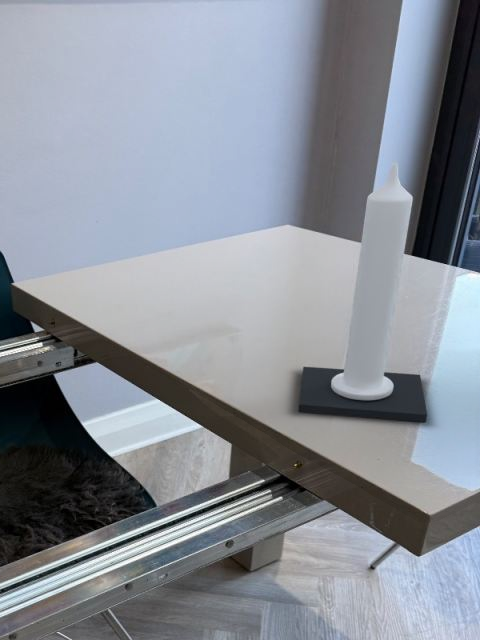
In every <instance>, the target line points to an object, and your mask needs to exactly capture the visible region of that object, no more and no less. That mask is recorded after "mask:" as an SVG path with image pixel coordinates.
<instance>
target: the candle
mask: <svg viewBox="0 0 480 640" xmlns="http://www.w3.org/2000/svg"><path fill="white" fill-rule="evenodd" d="M413 201H414V197H413V195H412V194H411V193H410V192H409V191H408V190H406V189H405V187H404V186H403V185H402V184H401V181H400V175H399V163H398V162H397V161H393V162H392V164H391V167H390V169H389V171H388V175H387V178H386V179H385V181H384V182H383V184H382V185H381V186H379V187H378V188H377V189H375V190H374V191H372V192H370V194H368V196H367V199H366V205H365V213H364V220H363V227H362V233H361V242H360V250H359V257H358V264H357V265H358V266H357V272H356V279H355V286H354V295H353V302H352V307H351V316H350V324H349V331H348V338H347V347H346V353H345V361H344V367H343V369H344V373H340V374H338V375H336V376H335V377H334V378H333V379H332V381H331V388H332V390H333V391H334V392H335V393H337V394H339V395H341V396H343V397H346V398H350V399H355V400H378V399H382V398H385V397H387V396H389V395H390V394H391V393H392V391H393V387H394V386H393V383H392V381H391V380H390V379H388V378H387V377H385V376H384V372H386V371H385V369H386V363H387V358H388V352H389V346H390V339H391V334H392V328H393V323H394V316H395V309H396V303H397V298H398V292H399V286H400V281H401V273H402V267H403V261H404V255H405V250H406V243H407V237H408V232H409V231H408V230H409V225H410V218H411V212H412V206H413Z"/></svg>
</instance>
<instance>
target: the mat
mask: <svg viewBox="0 0 480 640" xmlns="http://www.w3.org/2000/svg"><path fill="white" fill-rule="evenodd" d="M340 373H344V368H331V367H316V366H303V367H302V376H301V383H300V384H301V385H300V392H299V401H298V409H297V411H298V413H308V414H309V413H310V414H320V415H332V416H333V415H334V416H342V417H343V416H344V417H357V418H367V419H379V420H391V421H402V422H403V421H405V422H415V423H416V422H417V423H426V422H427V419H428V418H427V417H428V412H427V407H426V406H427V405H426V400H425V395H424V389H423V384H422V377H421V374H418V373H417V374H416V373H401V372H389V371H384V376H385V377H387V378H388V379H390V380H391V381H392V383H393V386H394V387H393V391H392V393H391V394H390V395H389V396H387V397H385V398H382V399H378V400H355V399H350V398H346V397H343V396H341V395H339V394H337V393H335V392H334V391H333V390H332V388H331V381H332V379H333V378H334V377H335V376H336V375H338V374H340Z"/></svg>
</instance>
